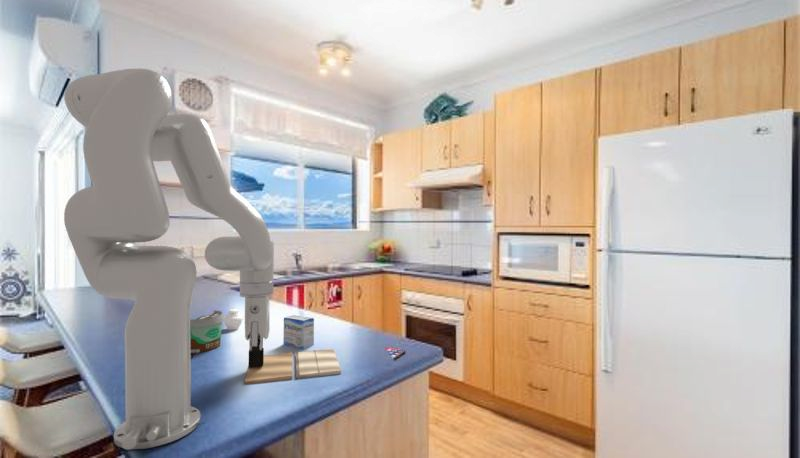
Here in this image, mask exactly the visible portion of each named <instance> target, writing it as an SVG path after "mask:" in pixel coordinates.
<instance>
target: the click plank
mask: <svg viewBox="0 0 800 458" xmlns="http://www.w3.org/2000/svg"><path fill="white" fill-rule="evenodd" d="M293 368H294V367H293V352H284V353H275V354H266V355H265V354H264V363H263V366H262V367H254V368H249V367H248V369H247V373H246V376H245V379H244V385H250V384H260V383H269V382H277V381H278V382H279V381H285V380H286V381H287V380H293V375H294V373H293V372H294V371H293Z"/></svg>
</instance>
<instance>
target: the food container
mask: <svg viewBox="0 0 800 458" xmlns="http://www.w3.org/2000/svg"><path fill="white" fill-rule="evenodd" d="M224 317H225V315H224V313H223V311H221V310H215V309H214V310H213V313H210V314H209V315H208V314H207V315H202V316H200V317H197V318H195V319H190V356H191V357H192V356H196V354H198V353H199V354H200V353H205V352H210V351H212V350H216V349H218V348H220V346H221V337H222V328H223V322H224V320H225V319H224Z"/></svg>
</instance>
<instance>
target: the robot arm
mask: <svg viewBox="0 0 800 458" xmlns="http://www.w3.org/2000/svg"><path fill="white" fill-rule="evenodd" d="M63 95H64V103H65V106H66V108H67V110H68V112H69V114H70V115H71V116H72V117H73V119H75V120H76V121H77V122H78V123H79V124H80V125H82V127H85V132H84V136H83V142H82V151H83V158H84V161H85V164H86V168H87V171H88V175H89V179H90V181H91V185H92V186H88V187H84V188H82V189H79V190H78V191H76V192H75V193H73V194H72V196H70V197H69V199H68V201H67V203H66V204H65V209H64V212H63V215H64V216H63V218H64V219H63V221H64V227H65V230H66V232H67V236H68V237H69V238H68V239H69V240H70V243H71V246H72V247H73V250H74V253H75V255H76V257H77V259H78V262H79V264H80V267H81V269H82V272H83V274H84V276H85V278H86V281H88V284H89V285H90V286H91V288H92V289H93V290H94V291H95V292H96V293H98V294H99V295H100V296H103V297H104V298H109V299H113V300H121V301H122V300H126V301H134V304H133V305H132V306H133V307H132V309H131V311H130V313H129V316H128V318H127V320H126V323H125V328H124V374H125V376H124V391H125V393H124V394H125V395H124V396H125V401H124V402H125V406H124V407H125V408H124V409H125V421H123V422H122V423H121V424H120V425H119V426H118V427H117V428H116V429H115V430H114V433H113V442H114V444H115V445H116V446H117V447H119V448H122V449H124V450H126V451H127V450H129V451H130V450H145V449H152V448H155V447H160V446H163V445H167V444H169V443H172V442H175V441H177V440H179V439H181V438H183V437H185V436H187V435H189V434H190V433H192V432H193V431H194V430H195V429H196V428H197V427H198V426H199V425H200V421H201V417H202V415H201V411H200V410H199V409H198V408H196V407H195V406H192V405H191V403H192V402H191V400H192V398H191V397H192V396H191V394H192V391H191V390H192V388H191V387H192V386H191V385H192V384H191V382H192V381H191V374H192V373H191V367H192V366H191V365H192V364H191V355H190V320H191V312H192V311H191V310H192V302H193V301H192V300H193V295H194V290H195V285H196V282H197V267H196V263H195V261H194V259H193V258H192V257H191V256H190V255H189V254H188V253H187V252H185V251H184V250H182V249H180V248H178V247H177V248H176V247H173V246H167V245H136V243H146V242H151V241H156V240H157V239H158V240H159V239H160V238H161V237H163V236H164V235H166V233H167V231H168V230H169V227H170V222H171V221H170V213H169V209H168V206H167V202H166V200H165V197H164V193H163V189H162V187H161V184H160V180H159V177H158V174H157V171H156V168H155V167H156V166H155V163H154V162H171V165H172V167H173V169H174V171H175V173H176V176H177V177H178V180H179V182H180V185H181V187H182V189H183V192H184V194H185V197H186V199H187V201H188V202H189V203H190V204H191V205H192V206H195V207H196V208H198V209H201V210H203V211H205V212H206V213H209V214H211V215H212V216H215V217H218V218H220V219H221V220H223V222H224V221H225V222H226V223H227V224H229V225H230V227H232V228H233V229H234V230H235V231H236V232H237V233H238V235H239V236H238V235H237V236H220V237H219V236H218V237H217V238H214V239H212V240H211V241H210V242H209V243H208V244H207V245H206V247H205V248H204V259H205V261H206V263H207V264H208V266H210V267H211V268H213V269H216V270H219V271H224V272H225V271H228V272H232V271H233V272H239V297H241V298H244V337H245V340H246V341H249V350H248V369H249V368H254V367H262V366H263V363H264V355H265V354H264V353H265V351H264V350H265V349H264V340H267V339H268V338H269V334H270V331H271V330H270V297H271V296H273V295H274V263H275V258H274V255H275V253H274V251H275V249H274V248H275V246H274V245H275V244H274V241H273V239H272V238H271V236H270V233H269V230H268V227H267V225H266V222H265V220H264V218H263V217H262V215H261V214H260V213H259V212H258V211H257V210H256V209H255V207H254V206H252V205H251V203H250V202H249V201H248V200H247V199H246V198H244V196H242V195H241V194H239V193H238V192H237V191H236V190H235V189H234V187H233V185H232V184H231V182H230V178H229V175H228V173H227V170H226V168H225V167H226V166H225V165H224V162H223V160H222V157H221V154H220V152H219V148H218V145H217V143H216V140H215V137H214V135H213V133H212V132H213V131H211V127H210V126H209V124H208V123H207V122H206V120H204V119H203V118H202V117H200V116H198V115H195V114H189V113H188V114H187V113H176V114H169V112H170V110H171V107H172V101H173V95H172V90H171V87H170V85H169V83H168V81H167V80H166V78H165V77H164V76H162V74H160V73H158V72H156V71H155V70H151V69H147V68H125V69H118V70H114V71H113V70H112V71H108V72H103V73H96V74H90V75H89V74H88V75H85V76H84V75H83V76H81V77H78V78H76V79H74V80H73V81H71V82H69V84H68V85H67V87H66V88H65V90H64V94H63Z"/></svg>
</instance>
